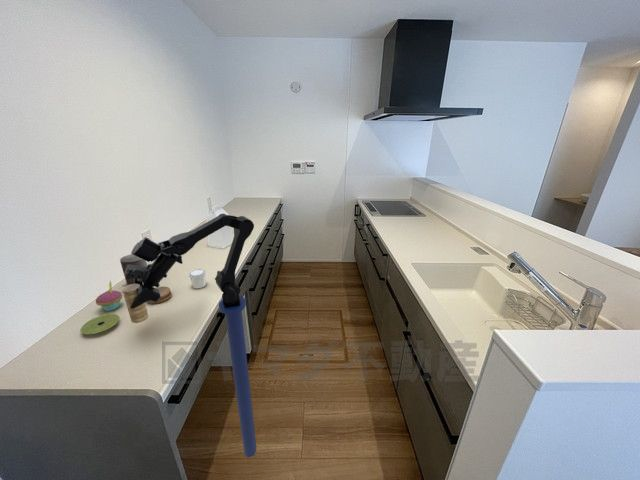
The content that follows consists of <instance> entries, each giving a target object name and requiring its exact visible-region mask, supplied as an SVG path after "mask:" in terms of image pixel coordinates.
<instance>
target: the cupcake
mask: <svg viewBox="0 0 640 480" xmlns="http://www.w3.org/2000/svg"><path fill="white" fill-rule="evenodd" d="M108 287H109V290H106V291H104V292H103V293H101V294H99V295H98V296H97V298H96V299H95V304H96V305H97V306H99V307H102V308H103V309H104V311H106V312H111V311H115V310H116V309H118V308H119V307H120V303H121V300H122V299H123V293H122V291H118V290H113V288H112V282H111V280H109V282H108Z"/></svg>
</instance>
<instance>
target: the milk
mask: <svg viewBox="0 0 640 480" xmlns="http://www.w3.org/2000/svg"><path fill="white" fill-rule="evenodd" d="M220 214H226V215H230V214H229V213H228V212H227V211H226V210H225V209H223V207H222V205H221V204H217V205H214V206H212V209H211V212H210V213H209V214H208V215H207V216H206V218H205V223H207V222H208V221H210V220H212V219H214V218H216V217H217V216H219V215H220ZM206 238H207V245H208V247H211V248H217V249H222V250H223V249H226V248H227V247H229V246H231V245H232V242H233V239H234V229H233V228H232V227H229V226H224V227H222V228H221V229H219V230H217V231H216V232H214V233H212V234H210V235H209V236H207V237H206Z"/></svg>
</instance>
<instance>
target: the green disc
mask: <svg viewBox="0 0 640 480" xmlns="http://www.w3.org/2000/svg"><path fill="white" fill-rule="evenodd" d="M119 321H120V316H119V315H118V314H116V313H107V314H103V315H99V316H96V317H93V318H91V319H89V320H88V321H86V322H85V323H84V324H82V326H81V327H80V332H81V334H84V335H94V334H95V335H96V334H98V333H102V332H105V331H107V330H109V329H111V328H112V327H115V325H116V324H117V323H119Z"/></svg>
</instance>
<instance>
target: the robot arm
mask: <svg viewBox="0 0 640 480" xmlns="http://www.w3.org/2000/svg"><path fill="white" fill-rule="evenodd" d="M224 226H229V227H232V229H233V235H234V239H233V242H232V244H231V245H230V248H229V251H228V254H227V257H226V261H225V263H224V267H223V268H222V269H221V270H217V272H216V276H215V278H214V280H215V284H216V285H217V287H218V288H219V290H220V292H222V294H221V300H223V305H224V308H229V307H235V306H240V297H239V296H240V293H241V288H240V287H239V285H238V284H237V283H236V270H237V266H238V264H239V261H240V258H241V256H242V255H241V254H242V252H243V248H244V246H245V242H246V240H247V239H248V238H249V237H250V236H251V235H252V233H253V231H254V229H255V224H254V222H253V221H252V220H251V219H249V217H246V216H244V215H240V216H236V215H232V214H231V215H230V214H229V215H226V214H220V215H219V216H217V217H216V218H214V219H212V220H210V221H208V222H207V223H206V222H205V223H202V224H201V225H200V226H197V227H196V228H194V229H192V230H189V231H185V232H181V233H178V234H176V235H173V236H171V237H170V238H169V239H166V240H163V241H160V242H158V243H157V242H155V241H154V240H151V239H150V238H148V237H146V236H144V238H143V239H141V240H139V241H138V242H137V243H136V244H135V245H134V247H133V248H132V250H131V253H130V254H132V255H135V256H137V257H139V258H141V259H143V260H145V261H146V262H148V263H149V262H151V263H149V264H148V263H147V266H146V267H143V266H137V265H127V267H126V270H125V273H123V275H124V274H125V276H124V279H125V278H127V279H134V280H135V284H140V288H139V289H136V291H137V296H136V297H135V299H134V301H133V303H132V304H131V306H130V308H132V309H134V308H136V307H137V306H139V305H141V304H143V303H145V304H146V303H148V302H147V301H149V300H152V301H155V302H157V301H158V300H159V299H160V297H161V296H160V293H159V290H158V289H156V288H158V287H161V285H160V283H161V281H163V279H166V278H167V277H168V273H169V271H170V270H171V269H172V268H173V266H174V265H175V264H176V263H178V264H181V265H182V264H183V256H184V255H186V254H187V253H188V252H189V251H191V250H192V249H193V248H194V247H195V245H196V244H197V243H198V242H200V241H201V240H203V239H205V238H208V237H207V236H209V235H210V234H212V233H214V232H216V231H217V230H219V229H221V228H222V227H224Z"/></svg>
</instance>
